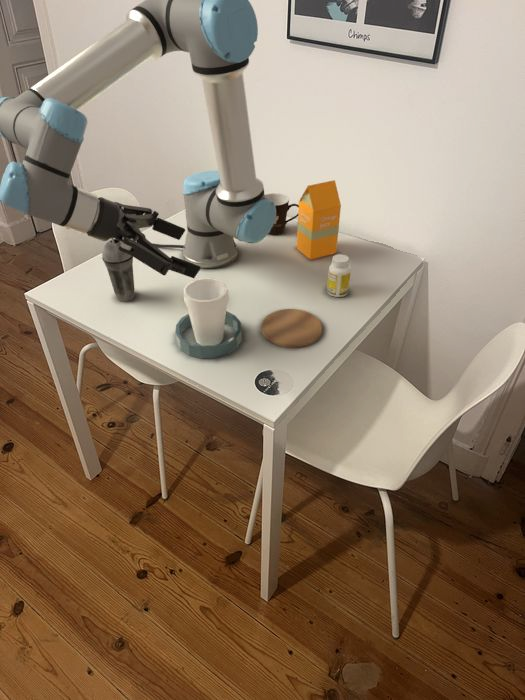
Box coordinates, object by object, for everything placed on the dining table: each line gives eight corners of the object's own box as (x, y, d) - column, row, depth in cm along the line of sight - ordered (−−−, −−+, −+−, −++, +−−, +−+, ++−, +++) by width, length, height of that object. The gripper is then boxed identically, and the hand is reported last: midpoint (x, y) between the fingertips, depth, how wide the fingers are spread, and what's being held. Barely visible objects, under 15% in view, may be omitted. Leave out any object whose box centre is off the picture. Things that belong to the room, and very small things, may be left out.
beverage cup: (145, 291, 135) (133, 218, 122) (131, 307, 130) (116, 232, 117) (120, 286, 137) (106, 214, 124) (105, 301, 132) (88, 227, 119)
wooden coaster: (249, 330, 122) (249, 327, 122) (287, 304, 131) (287, 302, 130) (296, 356, 115) (296, 353, 115) (333, 327, 124) (334, 324, 123)
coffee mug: (254, 232, 161) (254, 201, 154) (269, 221, 166) (269, 191, 160) (287, 241, 156) (288, 210, 150) (301, 230, 162) (303, 199, 155)
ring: (163, 339, 120) (162, 329, 118) (209, 311, 128) (208, 301, 126) (208, 367, 112) (208, 356, 110) (254, 336, 121) (254, 325, 119)
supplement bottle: (348, 287, 137) (352, 253, 131) (347, 298, 133) (351, 264, 127) (327, 285, 138) (330, 251, 131) (325, 296, 133) (329, 262, 127)
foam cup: (223, 353, 116) (220, 304, 108) (183, 348, 117) (177, 299, 109) (234, 328, 123) (232, 280, 115) (195, 323, 125) (191, 275, 116)
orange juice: (296, 248, 153) (299, 180, 140) (322, 241, 156) (327, 175, 144) (310, 260, 148) (314, 191, 135) (336, 253, 151) (343, 185, 138)
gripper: (77, 197, 107) (168, 233, 120) (91, 271, 91) (194, 304, 104) (92, 166, 104) (184, 206, 117) (109, 237, 88) (214, 275, 101)
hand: (189, 252), depth 111 cm, fingers open, 13 cm apart
